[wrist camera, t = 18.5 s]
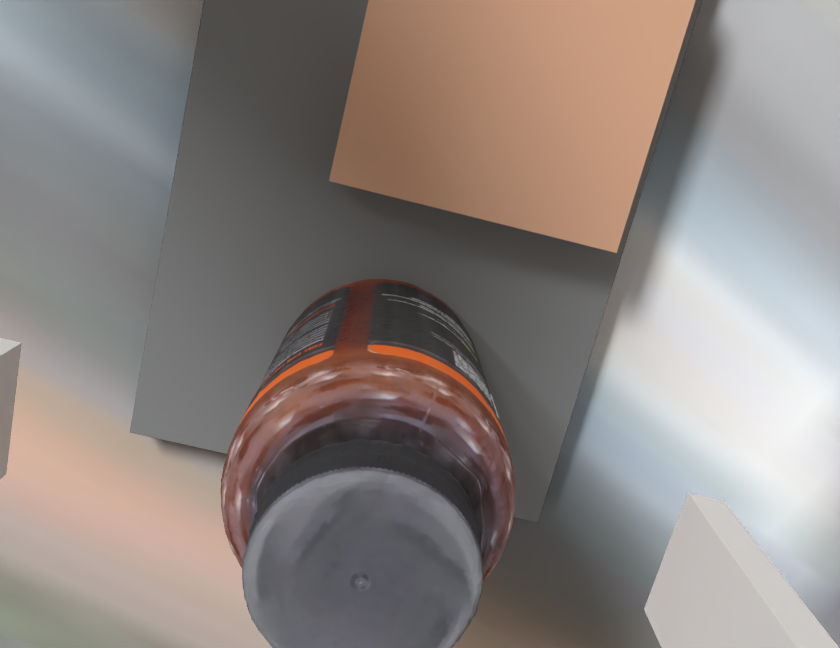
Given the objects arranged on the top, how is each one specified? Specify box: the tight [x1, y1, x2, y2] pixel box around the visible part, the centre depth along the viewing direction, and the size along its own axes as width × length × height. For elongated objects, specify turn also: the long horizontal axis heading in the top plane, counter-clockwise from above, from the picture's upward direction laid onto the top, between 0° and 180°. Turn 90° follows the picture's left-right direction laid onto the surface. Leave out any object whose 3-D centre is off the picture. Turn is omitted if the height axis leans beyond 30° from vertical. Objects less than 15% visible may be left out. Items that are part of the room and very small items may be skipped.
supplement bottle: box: [221, 279, 516, 648], centre depth 18 cm, size 6×6×11 cm
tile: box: [329, 0, 696, 253], centre depth 21 cm, size 8×2×8 cm
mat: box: [130, 0, 702, 523], centre depth 23 cm, size 18×13×1 cm
